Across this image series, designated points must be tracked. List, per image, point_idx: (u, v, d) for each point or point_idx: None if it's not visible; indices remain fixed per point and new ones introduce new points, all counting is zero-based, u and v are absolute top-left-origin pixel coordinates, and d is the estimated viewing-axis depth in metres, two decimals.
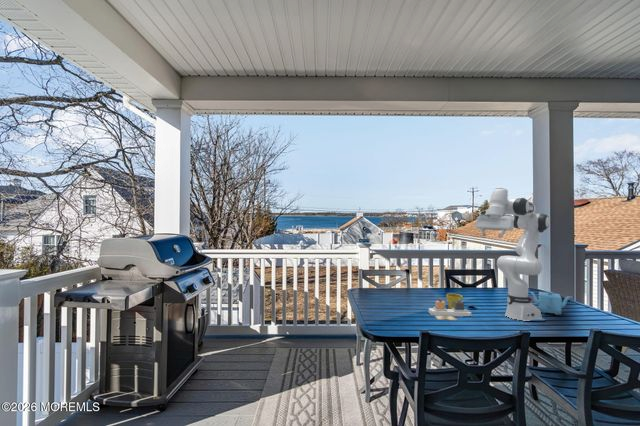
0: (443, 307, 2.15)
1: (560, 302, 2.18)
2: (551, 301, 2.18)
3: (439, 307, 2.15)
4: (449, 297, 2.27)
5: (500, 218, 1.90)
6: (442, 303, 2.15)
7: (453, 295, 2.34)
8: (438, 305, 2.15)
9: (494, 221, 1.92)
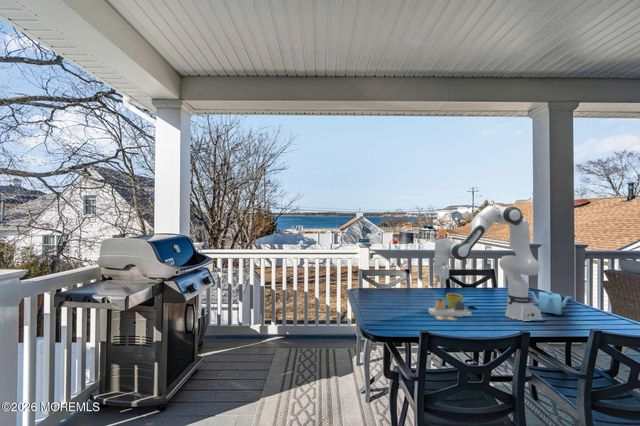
0: (443, 307, 2.15)
1: (560, 302, 2.18)
2: (551, 301, 2.18)
3: (439, 307, 2.15)
4: (449, 297, 2.27)
5: (440, 267, 2.13)
6: (442, 303, 2.15)
7: (453, 295, 2.33)
8: (438, 305, 2.15)
9: (439, 270, 2.16)
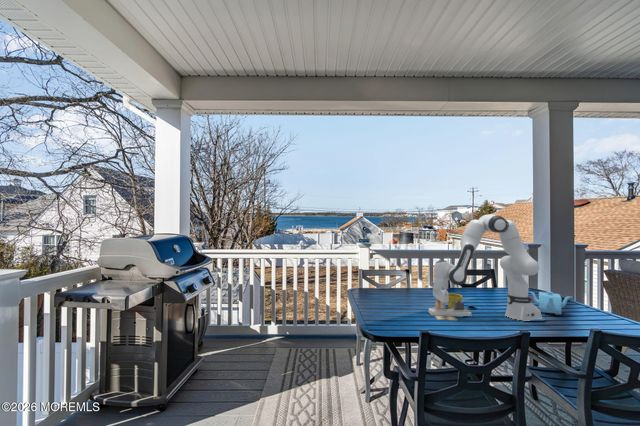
0: (443, 307, 2.15)
1: (560, 302, 2.18)
2: (551, 301, 2.18)
3: (439, 307, 2.15)
4: (449, 297, 2.27)
5: (439, 291, 2.13)
6: None
7: (453, 295, 2.34)
8: (438, 305, 2.15)
9: (438, 293, 2.16)
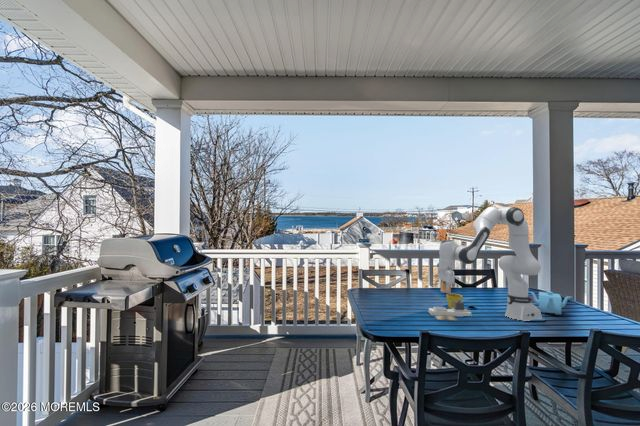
0: (449, 288, 2.06)
1: (560, 302, 2.18)
2: (551, 301, 2.18)
3: (444, 288, 2.06)
4: (449, 297, 2.27)
5: (445, 272, 2.04)
6: None
7: (453, 295, 2.34)
8: (443, 286, 2.06)
9: (443, 274, 2.07)
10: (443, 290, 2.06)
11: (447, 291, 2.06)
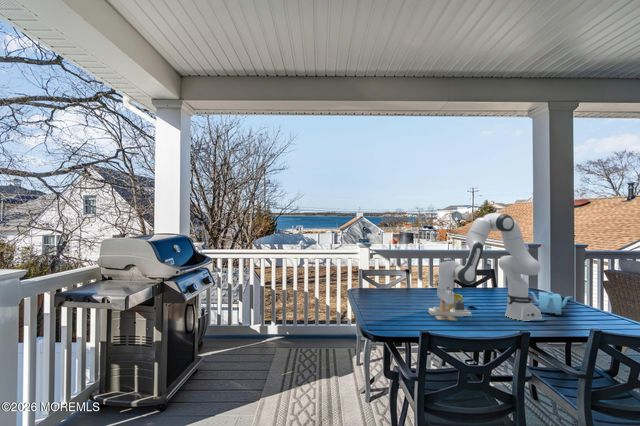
0: (448, 308, 2.05)
1: (560, 302, 2.18)
2: (551, 301, 2.18)
3: (444, 308, 2.05)
4: None
5: (444, 291, 2.04)
6: None
7: None
8: (443, 306, 2.05)
9: (443, 294, 2.06)
10: (442, 310, 2.05)
11: (446, 311, 2.05)
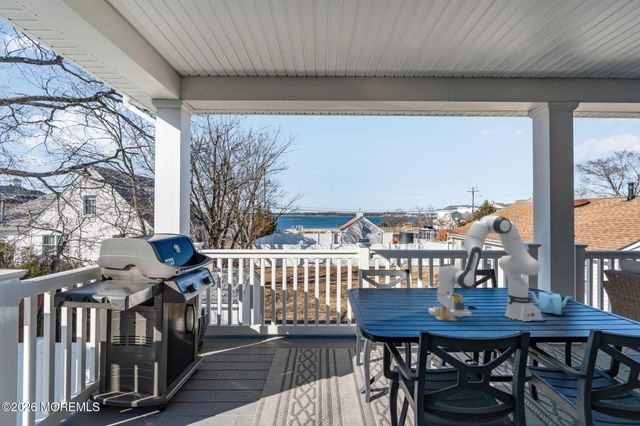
0: (448, 314, 2.05)
1: (560, 302, 2.18)
2: (551, 301, 2.18)
3: (444, 314, 2.05)
4: None
5: (444, 296, 2.04)
6: None
7: (453, 295, 2.34)
8: (443, 312, 2.05)
9: (443, 298, 2.06)
10: (442, 316, 2.05)
11: (446, 317, 2.05)
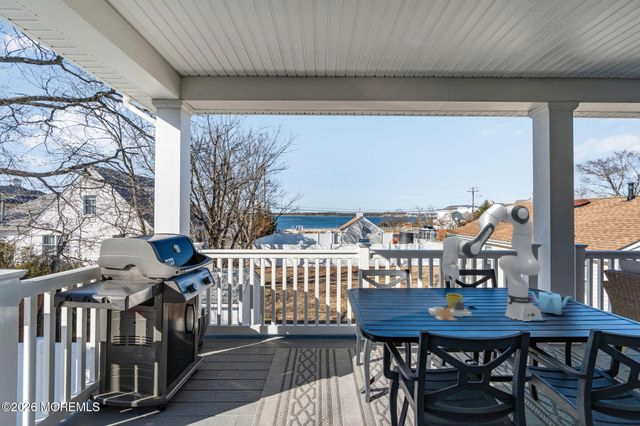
0: (448, 314, 2.05)
1: (560, 302, 2.18)
2: (551, 301, 2.18)
3: (444, 314, 2.05)
4: (449, 297, 2.27)
5: (449, 266, 2.07)
6: (447, 310, 2.05)
7: (453, 295, 2.34)
8: (443, 312, 2.05)
9: (448, 269, 2.10)
10: (442, 316, 2.05)
11: (446, 317, 2.05)
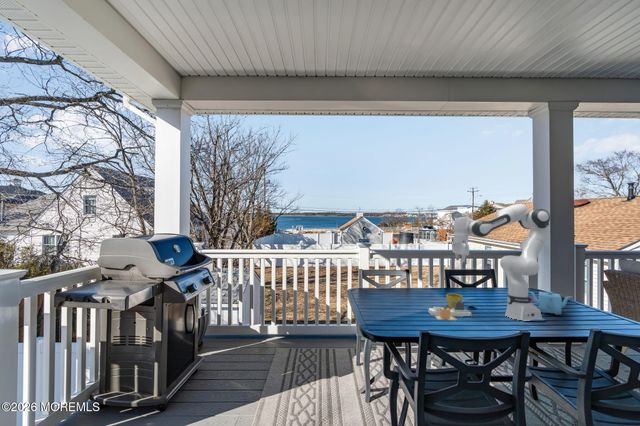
0: (448, 314, 2.05)
1: (560, 302, 2.18)
2: (551, 301, 2.18)
3: (444, 314, 2.05)
4: (449, 297, 2.27)
5: (460, 245, 2.17)
6: (447, 310, 2.05)
7: (453, 295, 2.34)
8: (443, 312, 2.05)
9: (458, 248, 2.20)
10: (442, 316, 2.05)
11: (446, 317, 2.05)
